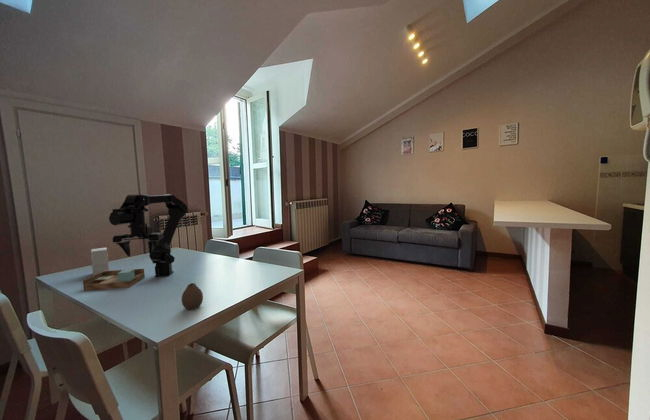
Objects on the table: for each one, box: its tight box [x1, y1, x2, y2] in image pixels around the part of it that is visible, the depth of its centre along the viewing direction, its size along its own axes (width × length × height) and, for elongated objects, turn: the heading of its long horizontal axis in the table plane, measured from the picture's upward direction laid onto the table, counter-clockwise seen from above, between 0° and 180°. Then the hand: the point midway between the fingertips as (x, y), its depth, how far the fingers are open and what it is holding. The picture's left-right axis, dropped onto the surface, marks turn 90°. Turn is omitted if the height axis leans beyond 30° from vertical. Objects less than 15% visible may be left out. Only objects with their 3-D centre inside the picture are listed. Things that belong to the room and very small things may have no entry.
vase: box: [181, 283, 204, 311], centre depth 95 cm, size 7×7×9 cm
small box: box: [90, 247, 110, 276], centre depth 136 cm, size 8×6×13 cm
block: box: [117, 268, 135, 282], centre depth 119 cm, size 4×4×4 cm
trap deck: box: [82, 268, 146, 291], centre depth 121 cm, size 18×13×4 cm
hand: (140, 255), depth 120 cm, fingers open, 9 cm apart
